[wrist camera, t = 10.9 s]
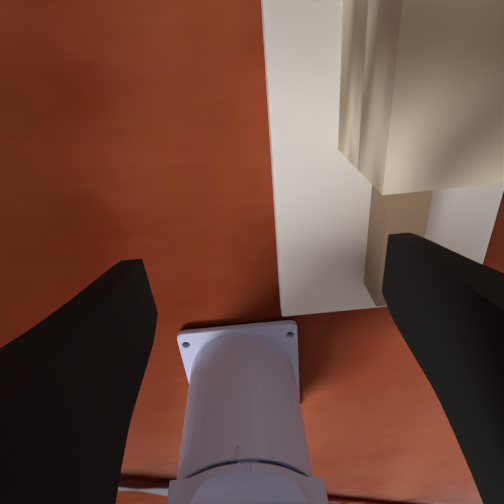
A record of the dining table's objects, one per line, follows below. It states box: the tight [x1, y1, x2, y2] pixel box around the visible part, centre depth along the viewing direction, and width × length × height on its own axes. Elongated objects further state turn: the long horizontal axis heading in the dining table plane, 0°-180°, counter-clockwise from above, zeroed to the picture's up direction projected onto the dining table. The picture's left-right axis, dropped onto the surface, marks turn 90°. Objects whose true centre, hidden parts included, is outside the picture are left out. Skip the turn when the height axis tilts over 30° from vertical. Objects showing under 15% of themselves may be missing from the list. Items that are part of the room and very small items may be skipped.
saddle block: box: [338, 0, 504, 195], centre depth 13 cm, size 8×6×6 cm
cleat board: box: [261, 0, 504, 317], centre depth 16 cm, size 20×12×5 cm, turn 5°
